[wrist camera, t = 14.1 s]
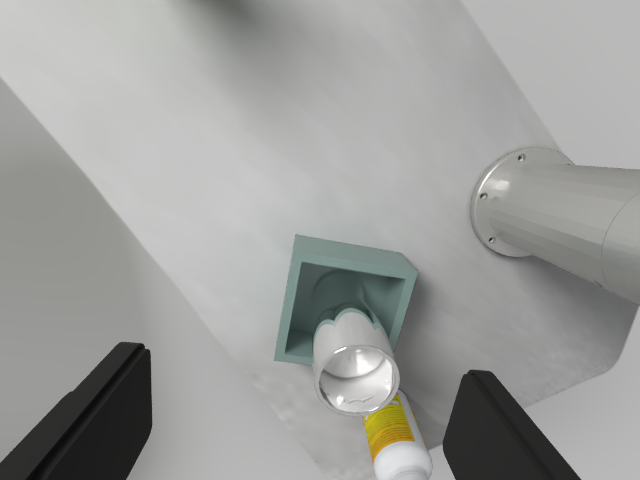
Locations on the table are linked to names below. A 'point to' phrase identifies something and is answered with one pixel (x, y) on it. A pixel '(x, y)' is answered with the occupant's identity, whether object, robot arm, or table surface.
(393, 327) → the box
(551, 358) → the table surface
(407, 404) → the supplement bottle
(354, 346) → the beer glass
